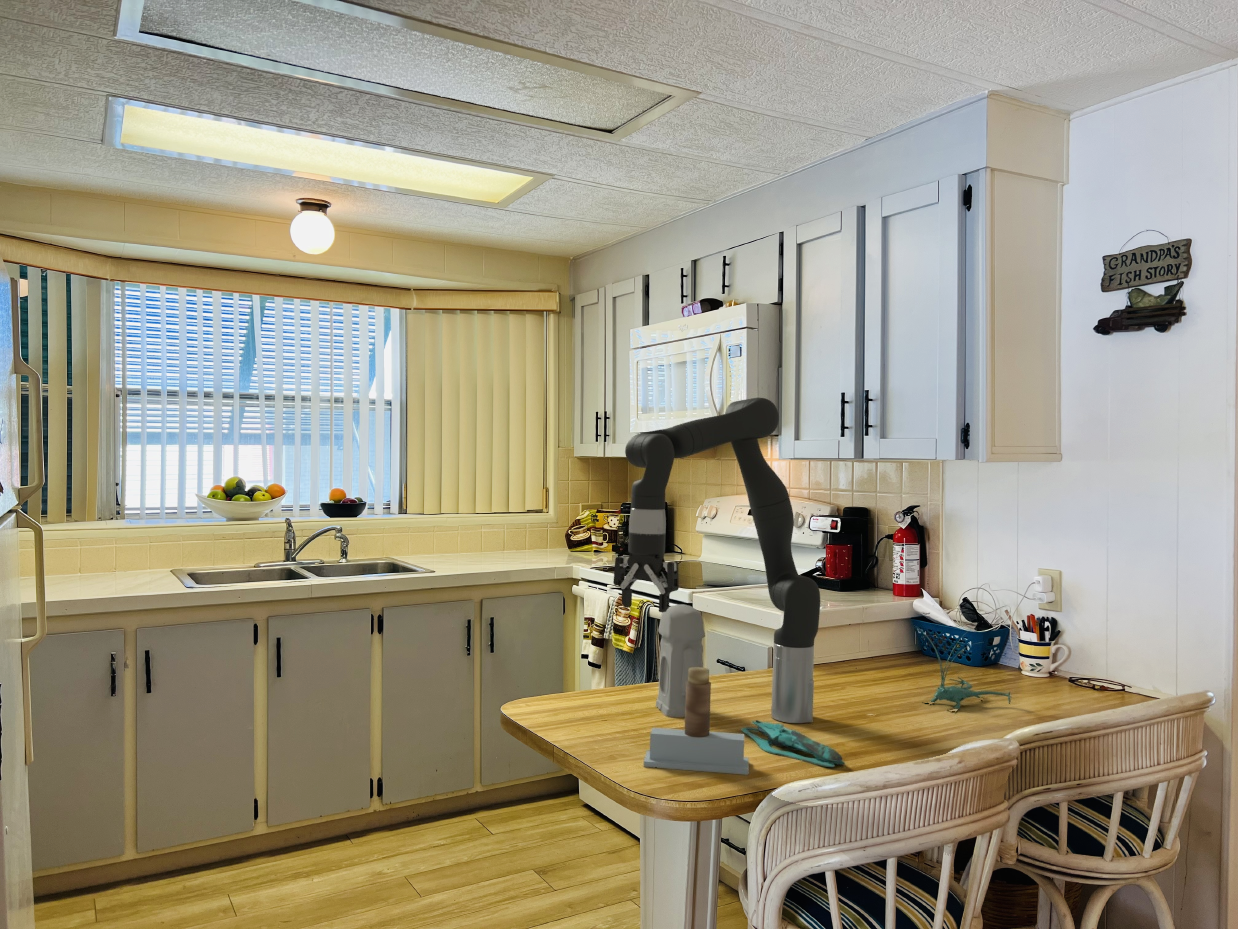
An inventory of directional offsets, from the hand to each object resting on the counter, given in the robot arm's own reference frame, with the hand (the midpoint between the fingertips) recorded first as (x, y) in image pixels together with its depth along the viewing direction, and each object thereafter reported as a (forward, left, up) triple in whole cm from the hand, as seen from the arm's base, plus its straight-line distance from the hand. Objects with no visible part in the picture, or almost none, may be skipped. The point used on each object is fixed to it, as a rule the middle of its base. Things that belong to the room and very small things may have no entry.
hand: (644, 609), depth 187 cm
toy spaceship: (-31, -5, -29) cm, 42 cm away
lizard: (-72, -48, -28) cm, 92 cm away
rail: (-12, +9, -28) cm, 32 cm away
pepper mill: (-12, +9, -22) cm, 27 cm away
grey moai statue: (-6, -28, -28) cm, 40 cm away
